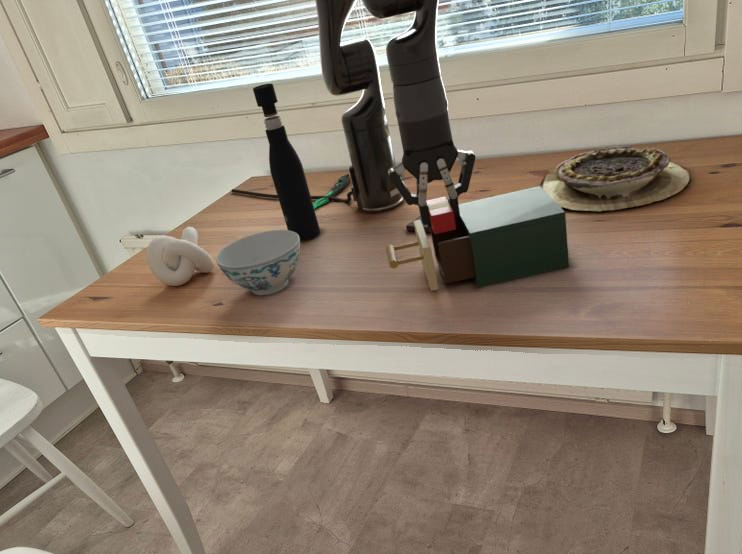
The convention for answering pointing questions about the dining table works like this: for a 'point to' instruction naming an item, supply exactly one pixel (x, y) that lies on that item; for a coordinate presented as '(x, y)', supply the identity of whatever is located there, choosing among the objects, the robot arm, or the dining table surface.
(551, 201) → the cabinet
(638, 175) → the pie
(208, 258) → the white knot sculpture
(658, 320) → the dining table surface
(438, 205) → the red yellow striped block
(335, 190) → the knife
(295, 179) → the black water bottle
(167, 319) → the dining table surface
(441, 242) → the drawer
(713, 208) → the dining table surface
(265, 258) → the chinaware
